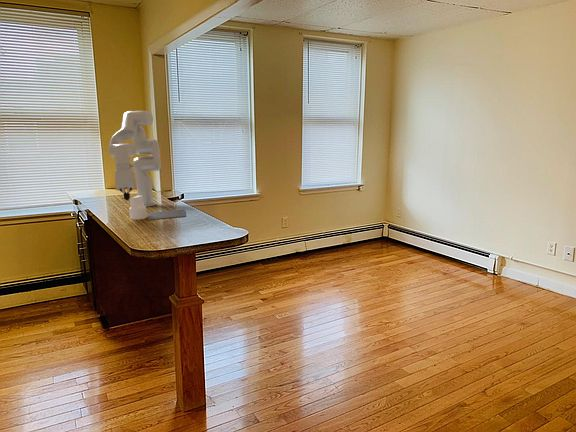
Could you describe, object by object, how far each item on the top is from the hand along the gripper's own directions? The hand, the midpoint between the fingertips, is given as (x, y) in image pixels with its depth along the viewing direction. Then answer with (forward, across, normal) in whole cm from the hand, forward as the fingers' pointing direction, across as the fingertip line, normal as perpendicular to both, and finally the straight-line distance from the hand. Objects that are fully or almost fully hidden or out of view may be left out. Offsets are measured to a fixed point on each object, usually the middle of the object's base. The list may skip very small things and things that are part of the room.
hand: (127, 200), depth 239 cm
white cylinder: (+11, -5, 0) cm, 12 cm away
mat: (+11, -20, 0) cm, 23 cm away
